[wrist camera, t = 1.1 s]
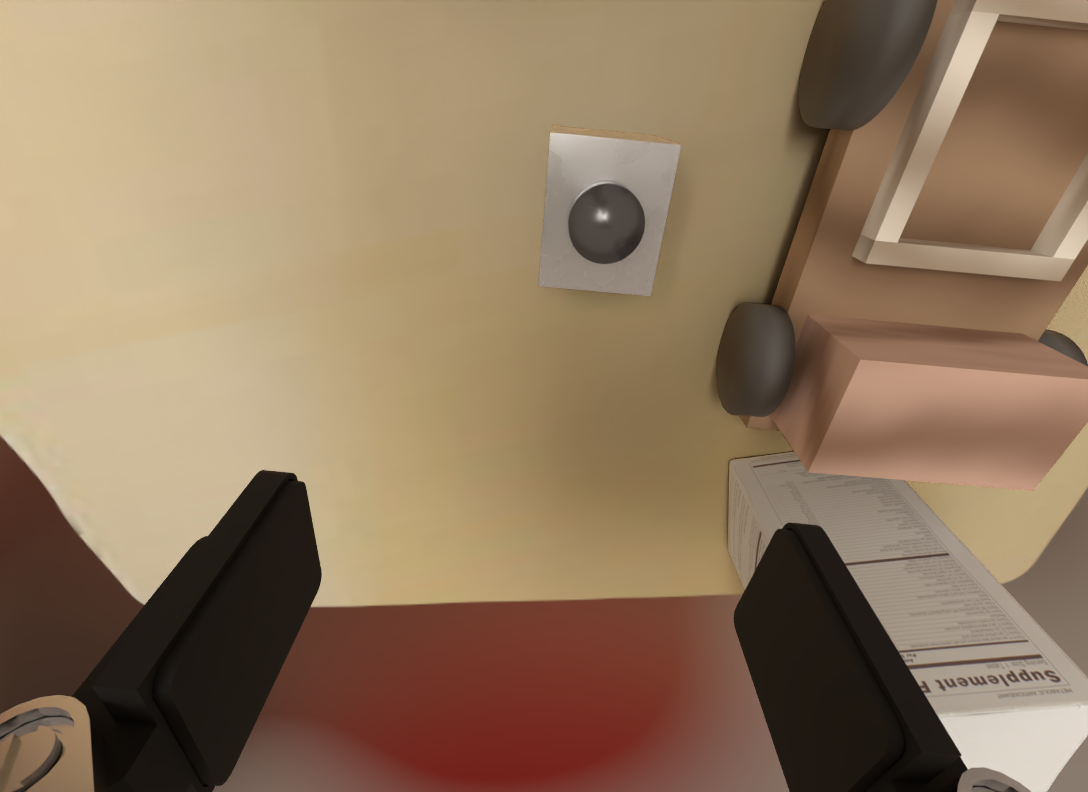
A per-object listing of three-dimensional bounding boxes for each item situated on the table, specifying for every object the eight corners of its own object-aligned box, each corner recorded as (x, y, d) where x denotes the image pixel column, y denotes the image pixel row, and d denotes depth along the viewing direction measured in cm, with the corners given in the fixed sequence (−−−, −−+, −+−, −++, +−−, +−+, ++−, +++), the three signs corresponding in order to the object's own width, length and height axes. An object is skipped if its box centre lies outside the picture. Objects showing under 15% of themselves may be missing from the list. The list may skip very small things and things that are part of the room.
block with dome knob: (551, 125, 24) (550, 133, 18) (654, 135, 24) (687, 147, 18) (541, 250, 27) (537, 293, 21) (632, 258, 27) (654, 304, 21)
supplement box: (724, 550, 38) (826, 822, 24) (725, 457, 34) (851, 724, 19) (854, 536, 37) (1042, 812, 23) (874, 438, 33) (1124, 706, 18)
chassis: (842, -74, 20) (1007, -173, 13) (1225, -32, 20) (1598, -105, 13) (704, 394, 31) (749, 484, 24) (952, 415, 32) (1071, 510, 24)
